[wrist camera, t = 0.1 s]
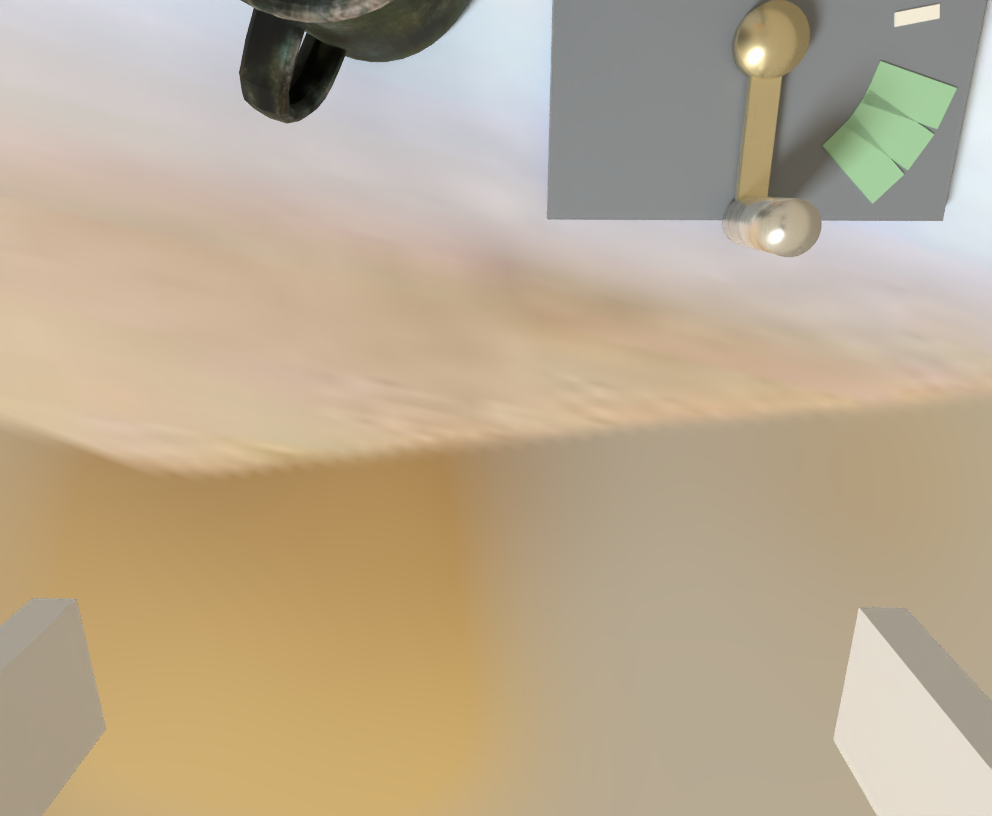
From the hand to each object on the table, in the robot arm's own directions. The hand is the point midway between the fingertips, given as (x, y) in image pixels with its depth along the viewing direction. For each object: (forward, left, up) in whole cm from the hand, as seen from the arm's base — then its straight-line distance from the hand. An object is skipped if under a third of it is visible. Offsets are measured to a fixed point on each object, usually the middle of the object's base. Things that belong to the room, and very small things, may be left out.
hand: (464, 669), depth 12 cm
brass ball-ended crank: (-10, +13, -26) cm, 31 cm away
